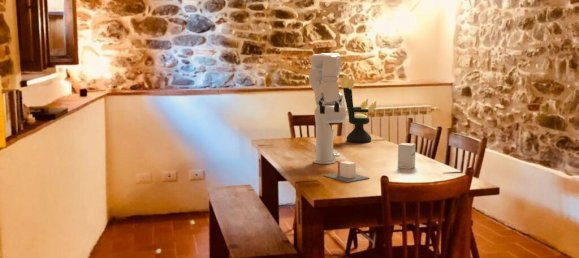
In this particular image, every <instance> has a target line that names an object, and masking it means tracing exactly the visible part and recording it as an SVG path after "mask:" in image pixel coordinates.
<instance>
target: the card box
mask: <svg viewBox="0 0 579 258" xmlns="http://www.w3.org/2000/svg"><path fill="white" fill-rule="evenodd" d="M356 167H357V163H356V162H353V161H348V160H339V161H337V173H338V176H342V177H346V178H353V177H356V174H357V173H356Z"/></svg>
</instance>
